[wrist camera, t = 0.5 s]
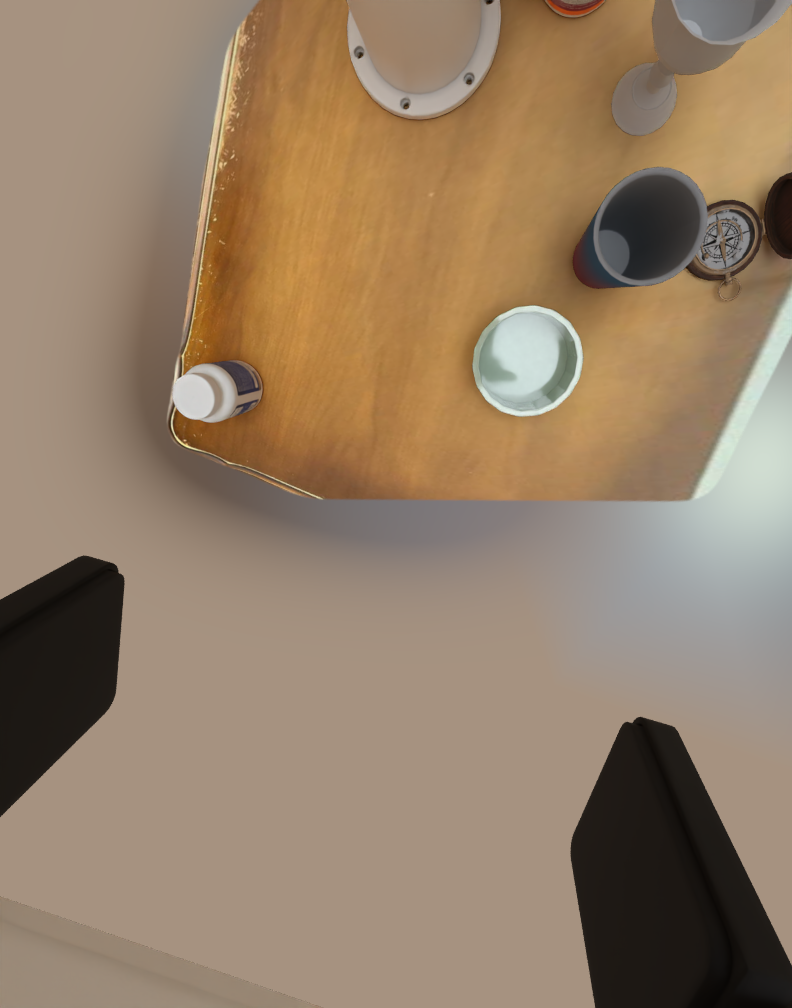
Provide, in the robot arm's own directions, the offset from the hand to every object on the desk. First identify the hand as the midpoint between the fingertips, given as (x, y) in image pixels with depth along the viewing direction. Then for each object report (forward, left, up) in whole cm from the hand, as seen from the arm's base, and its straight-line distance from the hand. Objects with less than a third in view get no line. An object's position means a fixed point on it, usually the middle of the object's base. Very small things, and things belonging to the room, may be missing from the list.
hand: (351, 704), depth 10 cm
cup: (-15, +8, -47) cm, 51 cm away
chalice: (-27, +7, -47) cm, 55 cm away
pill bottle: (+5, -23, -47) cm, 53 cm away
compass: (-18, +18, -47) cm, 54 cm away
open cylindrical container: (-5, +4, -47) cm, 48 cm away
